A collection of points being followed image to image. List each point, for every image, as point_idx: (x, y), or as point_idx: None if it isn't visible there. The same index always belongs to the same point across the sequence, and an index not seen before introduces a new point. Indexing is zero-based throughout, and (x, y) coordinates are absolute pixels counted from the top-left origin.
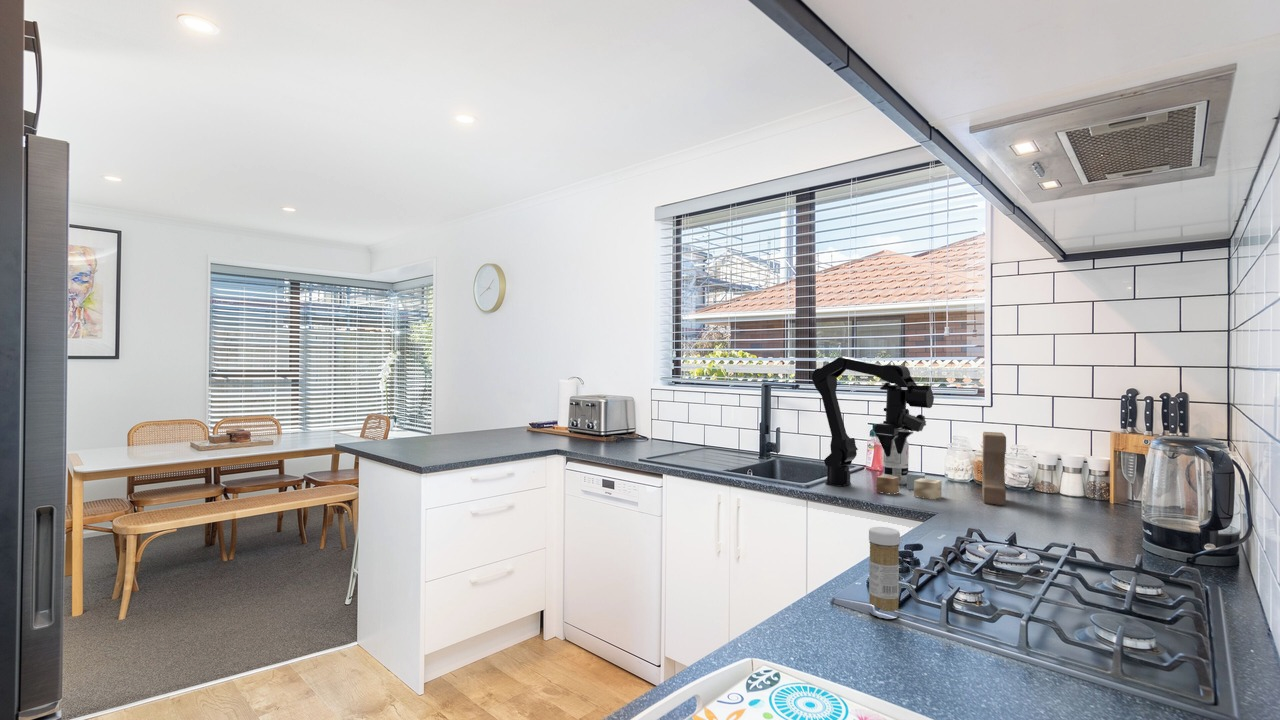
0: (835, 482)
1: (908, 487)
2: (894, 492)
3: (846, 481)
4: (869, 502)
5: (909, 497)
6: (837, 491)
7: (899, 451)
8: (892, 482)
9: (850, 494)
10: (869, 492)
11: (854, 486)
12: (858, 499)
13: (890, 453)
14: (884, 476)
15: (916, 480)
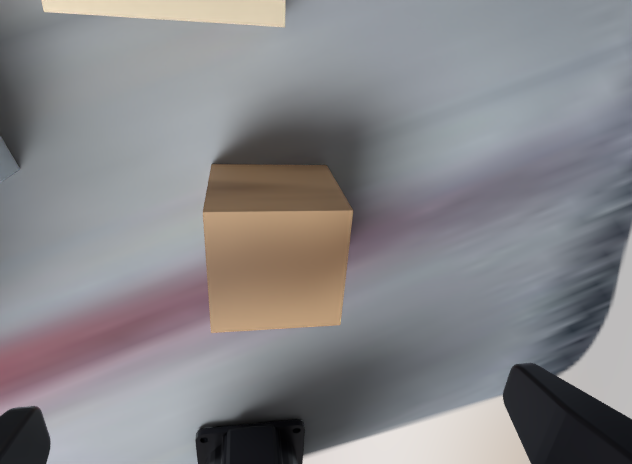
0: (296, 460)
1: (5, 162)
2: (292, 169)
3: (274, 438)
4: (626, 175)
5: (332, 40)
6: (430, 380)
7: (29, 459)
8: (346, 199)
9: (467, 318)
10: (348, 284)
11: (238, 396)
12: (573, 244)
13: (565, 391)
14: (279, 297)
15: (253, 7)
